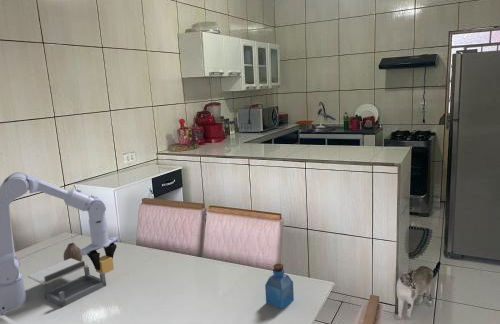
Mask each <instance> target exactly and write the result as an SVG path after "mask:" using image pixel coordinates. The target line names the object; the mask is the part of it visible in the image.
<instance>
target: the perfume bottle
mask: <svg viewBox="0 0 500 324" xmlns="http://www.w3.org/2000/svg"><path fill="white" fill-rule="evenodd" d="M272 267H273V269H272V273H273V274H272V275H270V276H269V277H268V279H267V281H266V282H265V285H264V286H265V287H264V289H265V304H267V305H270V306H273V307H276V308H279V309H281V310H283V309H284V308H286V307H287V306H288V305H290V304H291V303H292V302H293V301H294V300H295V299H294V297H295V296H294V280H292V278H291V277H290V276H289V275H288V274H286V273H285V269H284V268H285V267H284V264H282V263H274V264H273V266H272Z"/></svg>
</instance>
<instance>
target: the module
mask: <svg viewBox="0 0 500 324" xmlns="http://www.w3.org/2000/svg"><path fill="white" fill-rule="evenodd" d="M113 259H114V258H113ZM113 259H112V257H109V256H106V254H105V255H103V256H100V258H99V262H100V270H96V269H95V272H96V273H98V274H100V273H102V272H103V273H105V274H107V273H110V272H112V271H113V270H115V267H114V260H113Z"/></svg>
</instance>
